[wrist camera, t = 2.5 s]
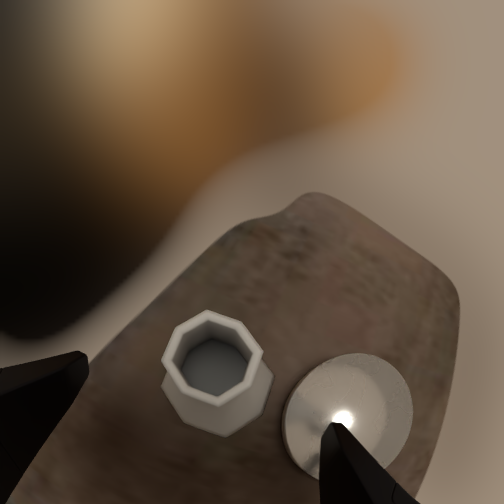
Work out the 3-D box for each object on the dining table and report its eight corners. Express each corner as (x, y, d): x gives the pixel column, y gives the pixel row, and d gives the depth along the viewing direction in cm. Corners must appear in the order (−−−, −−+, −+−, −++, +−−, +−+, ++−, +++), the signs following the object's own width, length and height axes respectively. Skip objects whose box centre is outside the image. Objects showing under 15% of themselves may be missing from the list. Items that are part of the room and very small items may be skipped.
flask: (292, 373, 18) (355, 334, 9) (228, 454, 14) (235, 501, 6) (209, 313, 19) (200, 228, 11) (143, 387, 16) (71, 359, 8)
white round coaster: (375, 481, 13) (392, 486, 11) (259, 463, 14) (264, 471, 12) (403, 374, 18) (421, 367, 16) (300, 346, 19) (311, 337, 17)
